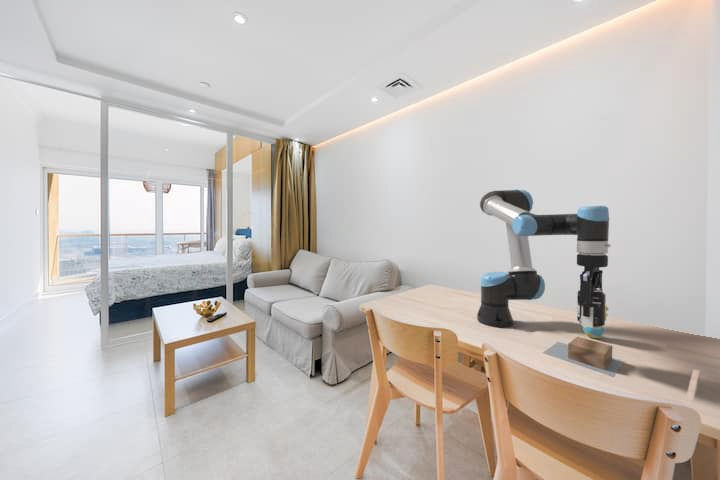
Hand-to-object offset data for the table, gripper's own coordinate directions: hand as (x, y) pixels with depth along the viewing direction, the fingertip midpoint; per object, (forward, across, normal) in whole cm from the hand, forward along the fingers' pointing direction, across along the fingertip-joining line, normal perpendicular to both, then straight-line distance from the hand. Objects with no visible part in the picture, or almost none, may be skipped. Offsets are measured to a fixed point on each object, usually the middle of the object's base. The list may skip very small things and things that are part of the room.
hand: (590, 323), depth 84 cm
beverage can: (+1, 0, 0) cm, 1 cm away
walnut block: (+12, 0, 0) cm, 12 cm away
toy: (+14, +25, +5) cm, 29 cm away
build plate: (+14, 0, +2) cm, 14 cm away
